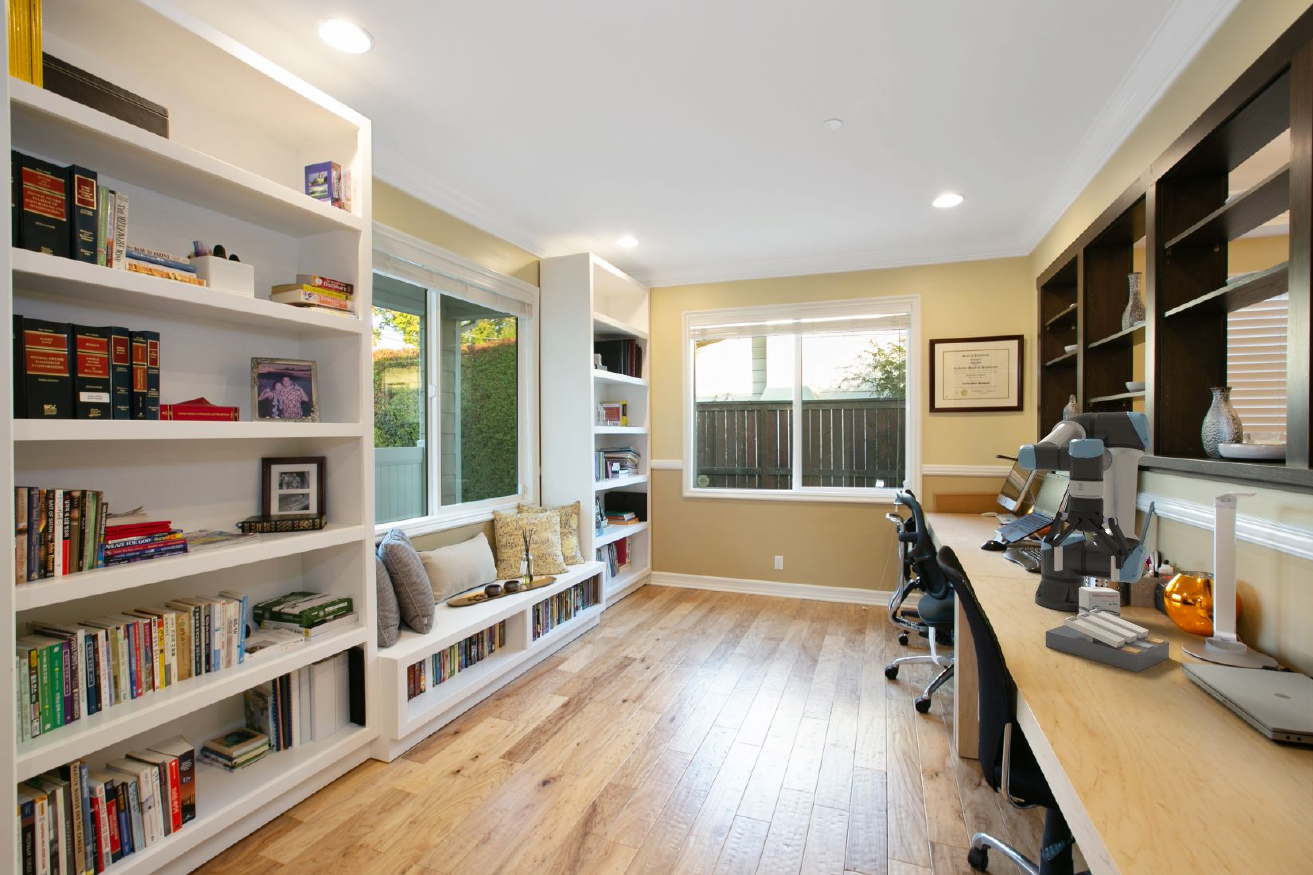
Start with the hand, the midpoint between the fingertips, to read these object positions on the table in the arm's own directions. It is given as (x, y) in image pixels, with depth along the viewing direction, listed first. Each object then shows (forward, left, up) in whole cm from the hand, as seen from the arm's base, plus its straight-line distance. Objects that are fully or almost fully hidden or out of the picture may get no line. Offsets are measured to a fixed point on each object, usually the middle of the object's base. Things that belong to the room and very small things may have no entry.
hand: (1085, 575), depth 159 cm
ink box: (-15, -3, -18) cm, 24 cm away
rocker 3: (-3, +6, -12) cm, 14 cm away
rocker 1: (+10, +6, -12) cm, 16 cm away
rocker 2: (+3, +6, -12) cm, 13 cm away
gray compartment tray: (+3, +6, -18) cm, 19 cm away
